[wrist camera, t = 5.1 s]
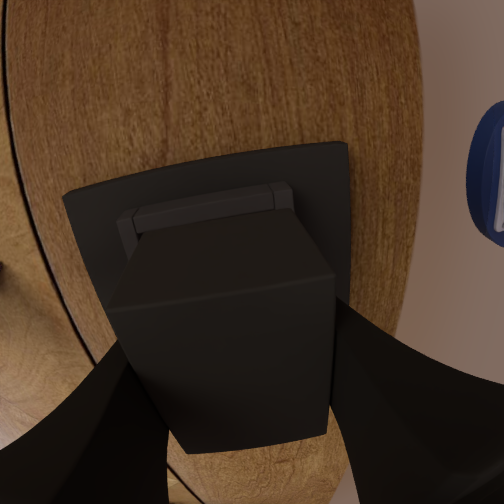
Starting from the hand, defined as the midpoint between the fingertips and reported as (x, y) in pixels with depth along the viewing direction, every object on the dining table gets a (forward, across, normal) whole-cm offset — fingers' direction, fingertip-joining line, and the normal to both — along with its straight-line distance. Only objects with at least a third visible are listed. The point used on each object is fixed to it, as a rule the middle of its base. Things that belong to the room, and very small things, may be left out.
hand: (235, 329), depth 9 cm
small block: (+1, 0, 0) cm, 1 cm away
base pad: (+7, +1, +2) cm, 8 cm away
